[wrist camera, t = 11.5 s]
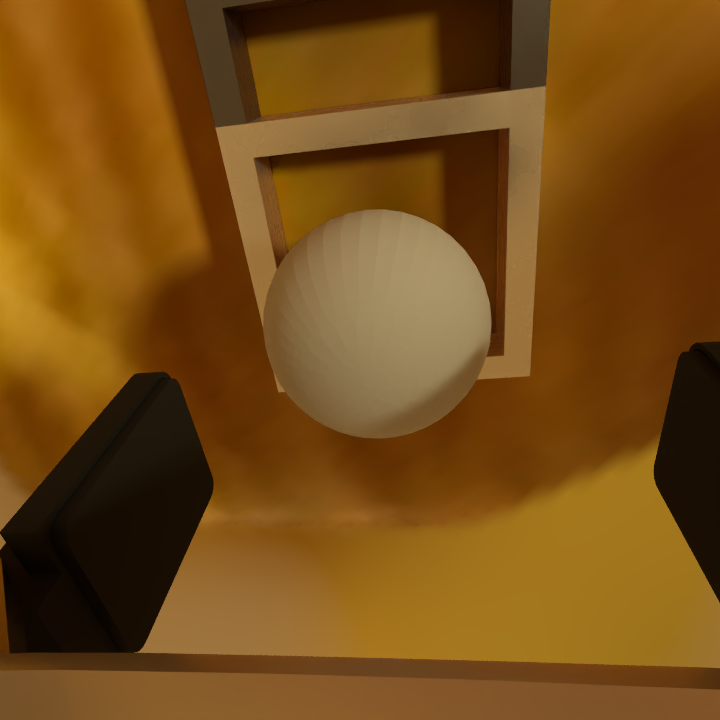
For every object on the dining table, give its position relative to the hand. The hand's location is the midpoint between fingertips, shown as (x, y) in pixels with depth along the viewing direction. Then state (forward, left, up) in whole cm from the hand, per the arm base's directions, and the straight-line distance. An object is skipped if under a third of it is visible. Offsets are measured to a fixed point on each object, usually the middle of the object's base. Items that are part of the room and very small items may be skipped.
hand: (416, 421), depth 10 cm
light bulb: (+1, 0, -11) cm, 11 cm away
